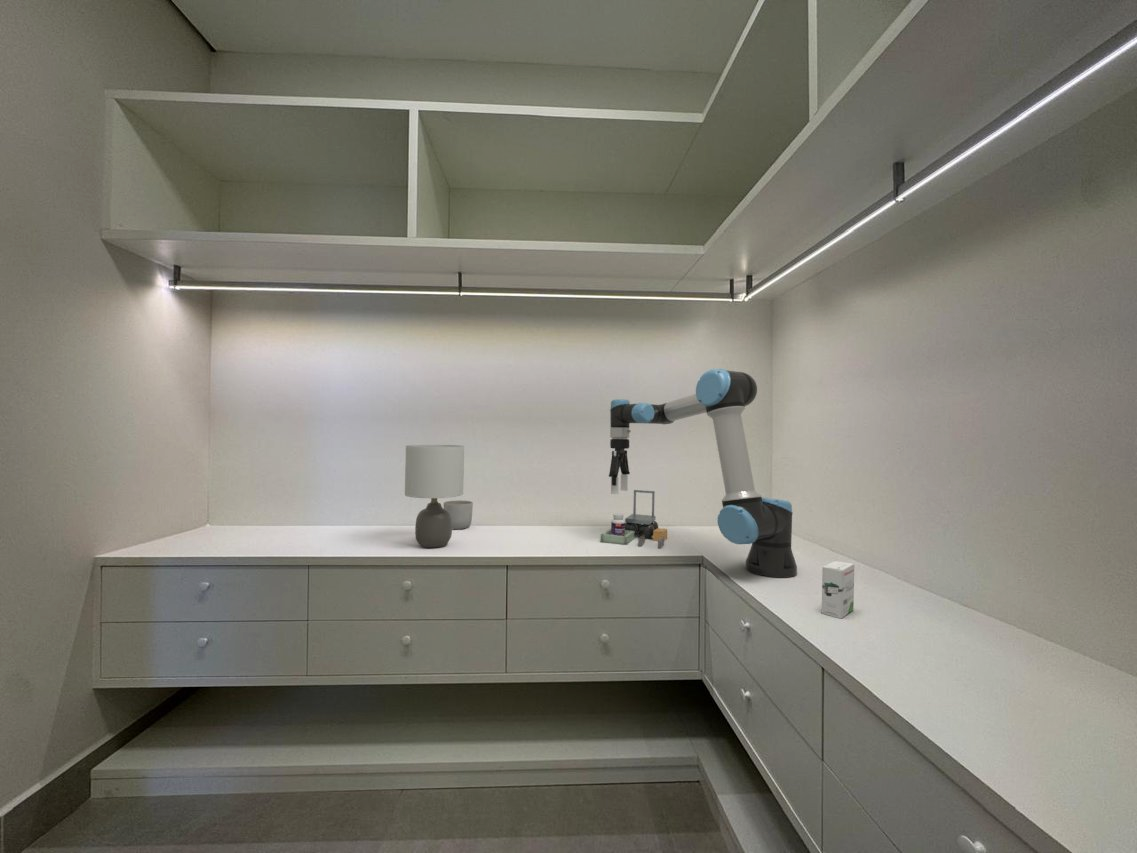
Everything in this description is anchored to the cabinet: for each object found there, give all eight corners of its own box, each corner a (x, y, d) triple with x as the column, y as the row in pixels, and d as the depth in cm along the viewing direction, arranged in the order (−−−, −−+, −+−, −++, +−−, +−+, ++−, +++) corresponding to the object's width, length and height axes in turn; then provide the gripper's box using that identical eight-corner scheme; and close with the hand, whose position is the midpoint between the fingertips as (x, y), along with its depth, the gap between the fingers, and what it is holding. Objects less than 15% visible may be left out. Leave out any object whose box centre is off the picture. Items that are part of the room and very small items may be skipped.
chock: (662, 542, 197) (663, 531, 197) (653, 540, 199) (653, 530, 199) (667, 539, 203) (667, 529, 203) (657, 537, 204) (657, 528, 204)
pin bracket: (660, 548, 185) (660, 540, 185) (638, 546, 188) (638, 538, 188) (664, 544, 192) (664, 537, 192) (642, 542, 195) (642, 534, 195)
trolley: (652, 539, 200) (653, 494, 200) (621, 536, 205) (622, 492, 205) (658, 534, 211) (659, 491, 211) (628, 531, 216) (629, 489, 216)
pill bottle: (615, 540, 194) (615, 515, 194) (608, 537, 199) (609, 513, 199) (627, 539, 196) (627, 515, 196) (620, 536, 201) (620, 512, 201)
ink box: (833, 605, 128) (834, 559, 128) (854, 610, 125) (855, 563, 125) (820, 613, 122) (821, 565, 122) (842, 619, 119) (843, 569, 119)
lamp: (453, 553, 172) (455, 447, 172) (394, 551, 173) (396, 446, 173) (468, 540, 193) (470, 445, 193) (415, 538, 194) (417, 444, 194)
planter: (476, 525, 221) (477, 501, 221) (464, 531, 209) (465, 505, 209) (451, 524, 224) (451, 499, 224) (437, 529, 212) (438, 503, 212)
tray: (626, 544, 190) (626, 537, 190) (600, 542, 194) (600, 534, 194) (634, 538, 202) (634, 531, 202) (609, 535, 205) (609, 528, 206)
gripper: (620, 438, 185) (620, 496, 185) (636, 438, 208) (636, 489, 208) (601, 438, 188) (600, 495, 187) (619, 438, 211) (618, 488, 211)
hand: (619, 492), depth 198 cm, fingers open, 13 cm apart
